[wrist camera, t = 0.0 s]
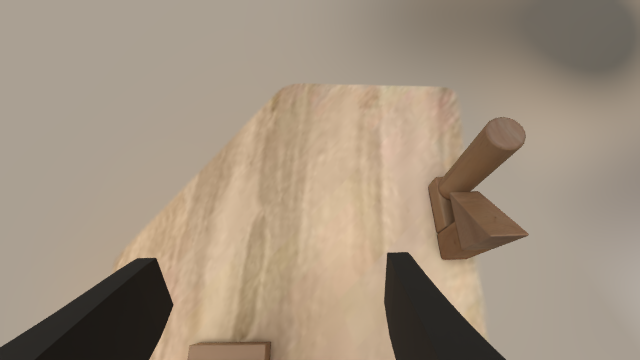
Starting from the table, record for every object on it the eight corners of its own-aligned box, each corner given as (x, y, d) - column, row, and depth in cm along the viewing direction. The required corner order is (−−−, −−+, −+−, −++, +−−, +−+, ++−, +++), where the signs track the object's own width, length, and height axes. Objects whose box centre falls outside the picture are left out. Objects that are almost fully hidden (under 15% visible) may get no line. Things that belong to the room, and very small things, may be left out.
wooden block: (440, 260, 40) (513, 227, 24) (427, 186, 45) (480, 115, 28) (468, 259, 40) (560, 225, 24) (452, 185, 44) (520, 112, 28)
